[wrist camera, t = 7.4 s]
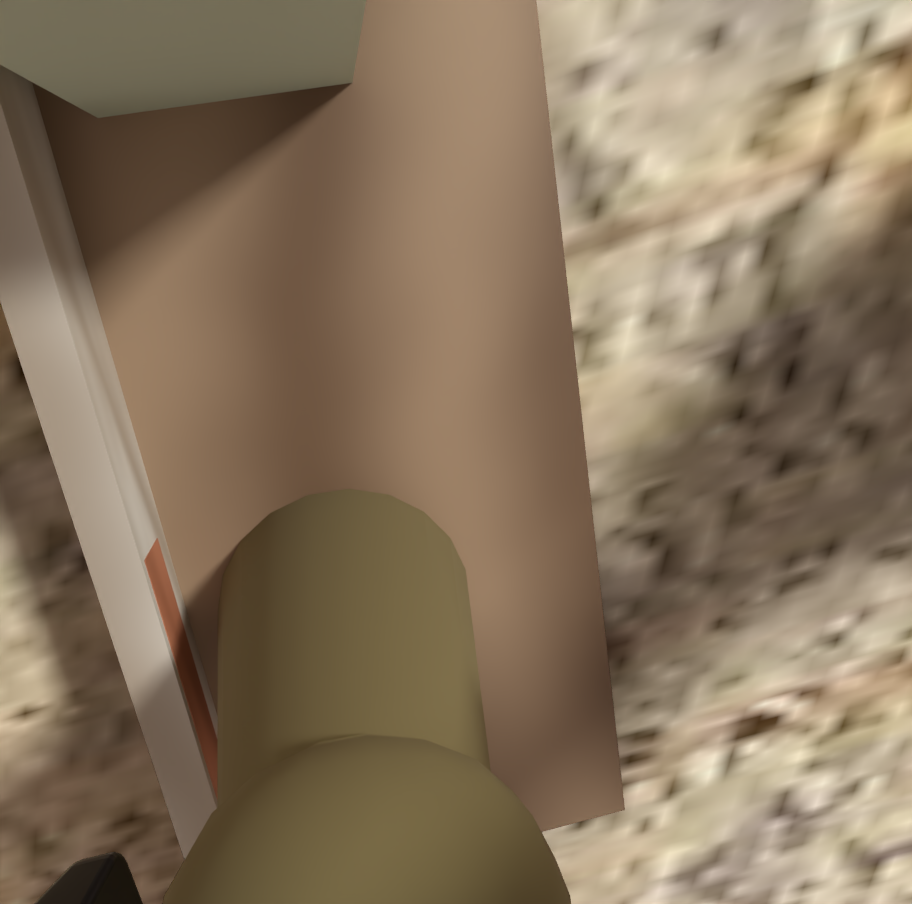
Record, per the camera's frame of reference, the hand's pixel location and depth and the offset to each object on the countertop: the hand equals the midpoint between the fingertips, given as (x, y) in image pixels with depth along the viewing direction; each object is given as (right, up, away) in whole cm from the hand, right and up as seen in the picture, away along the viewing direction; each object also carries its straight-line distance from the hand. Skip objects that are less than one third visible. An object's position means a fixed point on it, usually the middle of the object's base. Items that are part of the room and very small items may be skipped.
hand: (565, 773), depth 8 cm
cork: (-4, 0, +11) cm, 11 cm away
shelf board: (-4, +6, +10) cm, 12 cm away
